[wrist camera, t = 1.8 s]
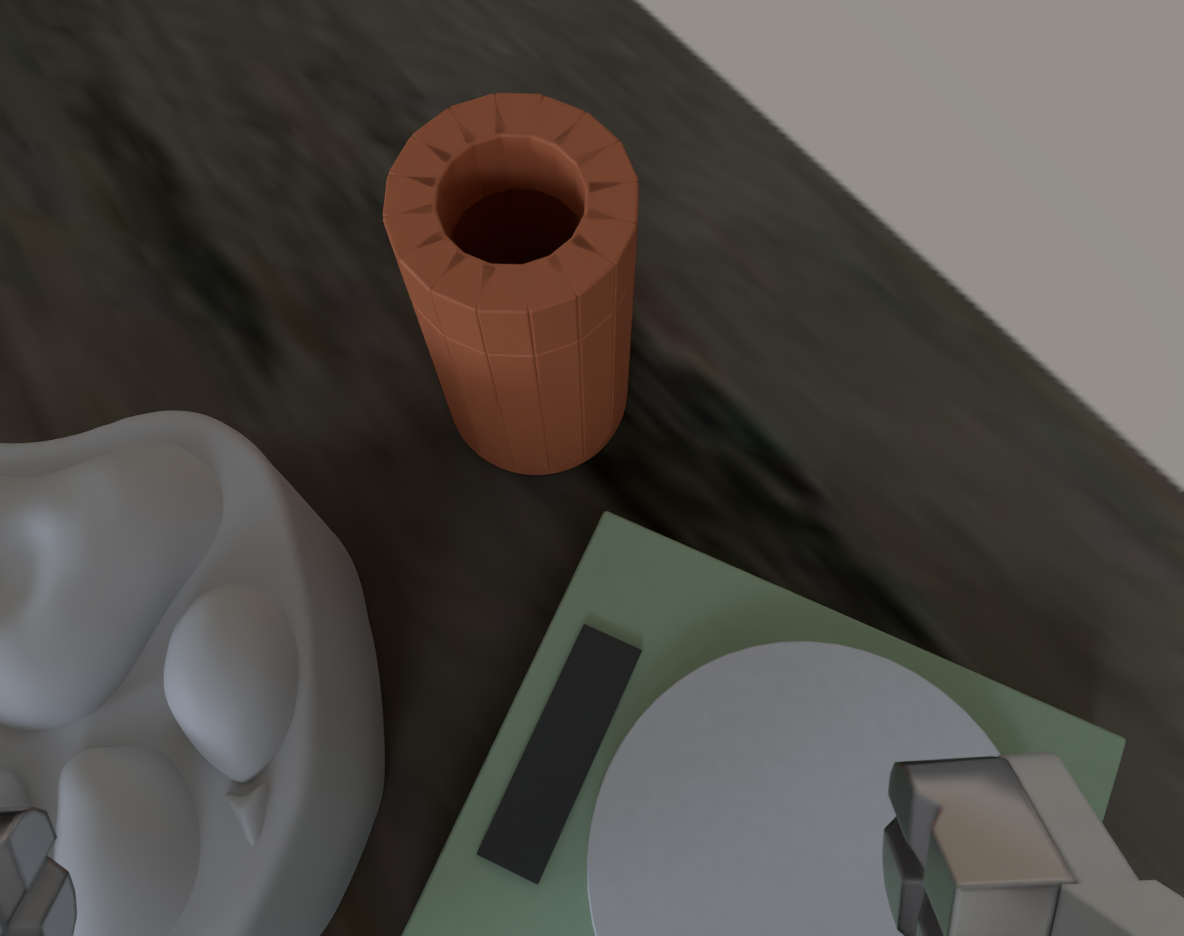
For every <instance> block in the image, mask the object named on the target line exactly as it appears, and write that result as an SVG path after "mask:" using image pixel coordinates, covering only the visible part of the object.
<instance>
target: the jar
mask: <svg viewBox="0 0 1184 936" xmlns="http://www.w3.org/2000/svg"><path fill="white" fill-rule="evenodd" d="M638 200H639V185H638V178H637V176H636V173H635V171H634V169H633V167H632V164H631V162H630V160H629V158H628V156H627V153H626V151H625V149H624V147H623V144H622V143H621V142H619V140H618V139H617V138H616V137H615V136H614V135H613V134H612V133H611V132H609V131H608V130H607V129H606V128H605V127H604V126H603V125H602V124H601V123H599V122H598V121H597V120H596V119H595V118H594V117H593V116H592V115H591V114H589V113H585V111H583V110H581V109H579V108H576V107H574V106H571V105H568V104H566V103H563V102H560V101H558V100H555V99H552V98H550V97H547V96H544V97H543V95H542V94H519V93H496V94H495V95H494V94H489V95H486V96H483V97H480V98H476V99H473V100H470V101H467V102H463V103H460V104H457V105H454V106H451V107H450V109H446V110H444V111H443V112H442V113H440V114H439V115H438V116H436V117H435V118H434V119H432V120H431V121H430V122H428V123H427V124H426V125H424V126H423V127H422V128H420V129H419V130H417V131H416V132H415V133H414V134H413V135H412V137H410V138H409V140H408V141H407V143H406V145H405V146H404V148H403V149H402V151H401V153H400V154H399V156H398V158H397V159H396V161H395V163H394V164H393V166H392V167H391V169H390V171H389V175H388V177H387V182H386V191H385V199H384V207H383V217H384V218H383V222H384V225H385V228H386V231H387V233H388V236H389V239H390V242H391V245H392V248H393V251H394V253H395V256H396V259H397V262H398V265H399V268H400V270H401V273H402V276H403V279H404V282H405V285H406V287H407V290H408V293H409V296H410V299H411V301H412V304H413V307H414V310H415V313H416V316H417V318H418V321H419V324H420V327H421V330H422V333H423V335H424V338H425V341H426V344H427V347H428V350H429V352H430V355H431V358H432V361H433V364H434V367H435V369H436V372H437V375H438V378H439V381H440V384H441V386H442V389H443V392H444V395H445V398H446V401H447V403H448V406H449V409H450V412H451V415H452V418H453V420H454V423H455V426H456V427H457V430H458V431H459V433H460V434H461V436H462V438H463V439H464V441H465V442H466V443H467V444H468V445H469V447H470V448H471V449H472V450H473V451H475V452H476V453H477V454H478V455H479V456H480V457H482V458H483V459H485V460H486V461H487V462H489V463H491V464H493V465H495V466H497V467H499V468H502V469H504V470H507V471H510V472H515V473H519V474H527V475H546V474H553V473H558V472H562V471H565V470H569V469H571V468H573V467H576V466H578V465H580V464H582V463H584V462H585V461H587V460H589V459H590V458H591V457H593V456H594V455H595V454H597V453H598V452H599V451H600V450H601V449H602V448H603V447H604V446H605V445H606V444H607V443H608V442H609V440H610V439H611V438H612V436H613V435H614V433H615V432H616V430H617V428H618V426H619V424H620V422H621V419H622V417H623V414H624V410H625V406H626V401H627V391H628V375H629V359H630V343H631V326H632V310H633V294H634V277H635V261H636V245H637V228H638Z"/></svg>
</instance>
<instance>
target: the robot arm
mask: <svg viewBox="0 0 1184 936" xmlns="http://www.w3.org/2000/svg"><path fill="white" fill-rule="evenodd" d="M888 796H889V799H890V801H891V804H892V806H893V809H894V812H895V814H896V817H895V818H894V819H893V820H892V821H891V822H890V823H889V824H888V825H887V826H886V827H885V828H884V833H883V847H882V863H883V875H884V885H885V890H886V894H887V898H888V903H889V907H890V910H891V913H892V916H893V919H894V922H895V925H896V928H897V930H898V931H899V932H900V933H902V934H903V935H904V936H1184V898H1183V897H1182V896H1180V895H1179V894H1177V893H1176V892H1174V891H1172V890H1171V889H1169V888H1168V887H1166V886H1164V885H1163V884H1161V883H1160V882H1158V881H1156V880H1142V881H1139V879H1138V878H1137V876H1136V875H1135V873H1134V872H1133V870H1132V868H1131V867H1130V865H1129V864H1128V862H1127V861H1126V859H1125V858H1124V856H1123V854H1122V853H1121V851H1120V850H1119V848H1118V847H1117V845H1116V844H1115V842H1114V841H1113V839H1112V837H1111V836H1110V834H1109V833H1108V831H1107V830H1106V828H1105V827H1104V825H1103V823H1102V822H1101V820H1100V819H1099V817H1098V816H1097V814H1096V813H1095V811H1094V810H1093V808H1092V806H1091V805H1090V803H1089V802H1088V800H1087V799H1086V797H1085V796H1084V794H1083V792H1082V791H1081V789H1080V788H1079V786H1078V785H1077V783H1076V782H1075V780H1074V779H1073V777H1072V775H1071V774H1070V772H1069V771H1068V769H1067V768H1066V766H1065V765H1064V763H1063V761H1062V760H1061V758H1060V757H1058V756H1057V755H1055V754H1054V753H1052V752H1051V751H1048V752H1033V753H1019V754H1004V755H998V756H997V757H995V756H984V757H967V758H951V759H934V760H917V761H900V762H895V763H894V765H893V768H892V770H891V772H890V778H889V786H888ZM56 838H57V835H56V833H55V830H54V828H53V825H52V823H51V820H50V818H49V815H48V813H47V811H46V810H42V809H39V808H36V807H0V936H73V934H74V929H75V924H76V919H77V906H76V892H75V888H74V885H73V882H72V879H71V876H70V873H69V871H68V870H66V869H65V868H64V867H62V866H61V865H60V864H58V863H57V862H56V861H54V860H53V859H52V858H50V857H49V856H48V855H47V854H48V853H49V851H50V849H51V847H52V845H53V844H54V842H55V840H56Z"/></svg>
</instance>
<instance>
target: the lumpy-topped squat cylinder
mask: <svg viewBox="0 0 1184 936" xmlns="http://www.w3.org/2000/svg"><path fill="white" fill-rule="evenodd" d="M384 778H385V742H384V722H383V708H382V697H381V687H380V678H379V670H378V663H377V656H376V650H375V645H374V640H373V635H372V632H371V628H370V624H369V619H368V614H367V609H366V603H365V599H364V594H363V590H362V586H361V583H360V579H359V576H358V573H357V571H356V568H355V566H354V563H353V561H352V559H351V557H350V555H349V553H348V552H347V550H346V548H345V547H344V545H343V544H342V543H341V541H340V540H339V539H338V537H337V536H336V535H335V534H334V533H333V532H332V531H331V529H330V528H329V527H328V526H327V525H326V524H325V523H324V521H323V520H322V519H321V518H320V517H319V516H318V515H317V514H316V512H315V511H314V510H313V509H312V508H311V507H310V506H309V505H308V503H307V502H306V501H305V500H304V499H303V498H302V497H301V496H300V494H299V493H298V492H297V491H296V490H295V489H294V488H293V487H292V486H291V485H290V483H289V482H288V481H287V480H286V479H285V478H284V477H283V476H282V475H281V473H280V472H279V471H278V470H277V469H276V468H275V467H274V466H273V465H272V464H271V463H270V462H269V460H268V459H267V458H266V457H265V456H264V454H263V453H262V452H261V451H260V450H259V449H258V448H257V447H256V446H255V445H254V444H253V443H252V442H251V441H249V440H248V439H247V438H246V437H244V436H243V435H242V434H240V433H239V432H237V431H236V430H234V429H233V428H231V427H229V426H228V425H226V424H224V423H222V422H220V421H218V420H216V419H214V418H211V417H209V416H206V415H203V414H199V413H195V412H188V411H159V412H152V413H147V414H142V415H137V416H133V417H129V418H125V419H122V420H119V421H117V422H114V423H112V424H108V425H105V426H101V427H98V428H95V429H93V430H90V431H87V432H84V433H81V434H77V435H73V436H69V437H65V438H60V439H55V440H50V441H43V442H34V443H20V444H10V443H0V807H36V808H39V809H42V810H46V811H47V813H48V815H49V818H50V820H51V823H52V825H53V828H54V830H55V833H56V835H57V838H56V840H55V842H54V844H53V845H52V847H51V849H50V851H49V853H48V854H47V855H48V856H49V857H50V858H52V859H53V860H54V861H56V862H57V863H58V864H60V865H61V866H62V867H64V868H65V869H66V870H68V871H69V873H70V876H71V879H72V882H73V885H74V888H75V892H76V906H77V919H76V924H75V929H74V934H73V936H320V935H321V934H322V932H323V931H324V930H325V928H326V927H327V925H328V924H329V922H330V920H331V919H332V917H333V915H334V913H335V912H336V910H337V908H338V906H339V904H340V902H341V900H342V898H343V896H344V894H345V892H346V890H347V888H348V885H349V883H350V881H351V879H352V877H353V874H354V872H355V870H356V867H357V865H358V863H359V860H360V858H361V855H362V853H363V850H364V848H365V845H366V843H367V840H368V838H369V835H370V832H371V830H372V827H373V824H374V821H375V818H376V815H377V812H378V809H379V806H380V803H381V799H382V795H383V788H384Z"/></svg>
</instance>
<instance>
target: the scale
mask: <svg viewBox="0 0 1184 936" xmlns="http://www.w3.org/2000/svg"><path fill="white" fill-rule="evenodd" d="M1125 743H1126V739H1124V738H1123V737H1121V736H1119V735H1117V734H1114V733H1112V732H1110V731H1108V730H1105V729H1103V728H1101V727H1098V726H1096V725H1094V724H1092V723H1089V722H1087V721H1085V720H1082V719H1080V718H1078V717H1076V716H1073V715H1071V714H1069V713H1067V712H1064V711H1062V710H1060V709H1057V708H1055V707H1053V706H1051V705H1048V704H1046V703H1044V702H1041V701H1039V700H1037V699H1035V698H1032V697H1030V696H1028V695H1025V694H1023V693H1021V692H1019V691H1016V690H1014V689H1012V688H1010V687H1007V686H1005V685H1003V684H1000V683H998V682H996V681H994V680H991V679H989V678H987V677H984V676H982V675H980V674H978V673H975V672H973V671H971V670H968V669H966V668H964V667H962V666H959V665H957V664H955V663H953V662H950V661H948V660H946V659H943V658H941V657H939V656H937V655H934V654H932V653H930V652H927V651H925V650H923V649H921V648H918V647H916V646H914V645H911V644H909V643H907V642H905V641H902V640H900V639H898V638H896V637H893V636H891V635H889V634H886V633H884V632H882V631H880V630H877V629H875V628H873V627H870V626H868V625H866V624H864V623H861V622H859V621H857V620H855V619H852V618H850V617H848V616H845V615H843V614H841V613H839V612H836V611H834V610H832V609H829V608H827V607H825V606H823V605H820V604H818V603H816V602H813V601H811V600H809V599H807V598H804V597H802V596H800V595H798V594H795V593H793V592H791V591H788V590H786V589H784V588H782V587H779V586H777V585H775V584H772V583H770V582H768V581H766V580H763V579H761V578H759V577H756V576H754V575H752V574H750V573H747V572H745V571H743V570H741V569H738V568H736V567H734V566H731V565H729V564H727V563H725V562H722V561H720V560H718V559H715V558H713V557H711V556H709V555H706V554H704V553H702V552H699V551H697V550H695V549H693V548H690V547H688V546H686V545H684V544H681V543H679V542H677V541H674V540H672V539H670V538H668V537H665V536H663V535H661V534H658V533H656V532H654V531H652V530H649V529H647V528H645V527H642V526H640V525H638V524H636V523H633V522H631V521H629V520H627V519H624V518H622V517H620V516H617V515H615V514H613V513H611V512H608V511H605V512H604V513H603V514H602V516H601V518H600V520H599V523H598V525H597V527H596V529H595V531H594V533H593V535H592V537H591V539H590V541H589V543H588V546H587V548H586V550H585V552H584V554H583V556H582V558H581V560H580V562H579V564H578V567H577V569H576V571H575V573H574V575H573V577H572V579H571V581H570V583H569V585H568V587H567V590H566V592H565V594H564V596H563V598H562V600H561V602H560V604H559V606H558V608H557V611H556V613H555V615H554V617H553V619H552V621H551V623H550V625H549V627H548V629H547V632H546V634H545V636H544V638H543V640H542V642H541V644H540V646H539V648H538V650H537V652H536V655H535V657H534V659H533V661H532V663H531V665H530V667H529V669H528V671H527V673H526V676H525V678H524V680H523V682H522V684H521V686H520V688H519V690H518V692H517V694H516V696H515V699H514V701H513V703H512V705H511V707H510V709H509V711H508V713H507V715H506V717H505V720H504V722H503V724H502V726H501V728H500V730H499V732H498V734H497V736H496V738H495V741H494V743H493V745H492V747H491V749H490V751H489V753H488V755H487V757H486V759H485V761H484V764H483V766H482V768H481V770H480V772H479V774H478V776H477V778H476V780H475V782H474V785H473V787H472V789H471V791H470V793H469V795H468V797H467V799H466V801H465V803H464V806H463V808H462V810H461V812H460V814H459V816H458V818H457V820H456V822H455V824H454V826H453V829H452V831H451V833H450V835H449V837H448V839H447V841H446V843H445V845H444V847H443V850H442V852H441V854H440V856H439V858H438V860H437V862H436V864H435V866H434V868H433V870H432V873H431V875H430V877H429V879H428V881H427V883H426V885H425V887H424V889H423V891H422V894H421V896H420V898H419V900H418V902H417V904H416V906H415V908H414V910H413V912H412V915H411V917H410V919H409V921H408V923H407V925H406V927H405V929H404V931H403V933H402V935H401V936H904V935H903V934H902V933H900V932H899V931H898V930H897V928H896V925H895V922H894V919H893V916H892V913H891V910H890V907H889V903H888V898H887V894H886V890H885V885H884V875H883V863H882V847H883V833H884V828H885V827H886V826H887V825H888V824H889V823H890V822H891V821H892V820H893V819H894V818H895V817H896V814H895V812H894V809H893V806H892V804H891V801H890V799H889V796H888V786H889V778H890V772H891V770H892V768H893V765H894V763H895V762H900V761H917V760H934V759H951V758H967V757H984V756H995V757H997V756H998V755H1004V754H1019V753H1033V752H1048V751H1051V752H1052V753H1054V754H1055V755H1057V756H1058V757H1060V758H1061V760H1062V761H1063V763H1064V765H1065V766H1066V768H1067V769H1068V771H1069V772H1070V774H1071V775H1072V777H1073V779H1074V780H1075V782H1076V783H1077V785H1078V786H1079V788H1080V789H1081V791H1082V792H1083V794H1084V796H1085V797H1086V799H1087V800H1088V802H1089V803H1090V805H1091V806H1092V808H1093V810H1094V811H1095V813H1096V814H1097V816H1098V817H1099V819H1100V820H1101V822H1103V819H1104V816H1105V812H1106V809H1107V805H1108V802H1109V798H1110V795H1111V791H1112V788H1113V784H1114V781H1115V778H1116V774H1117V771H1118V767H1119V764H1120V760H1121V757H1122V753H1123V750H1124V746H1125Z"/></svg>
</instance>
